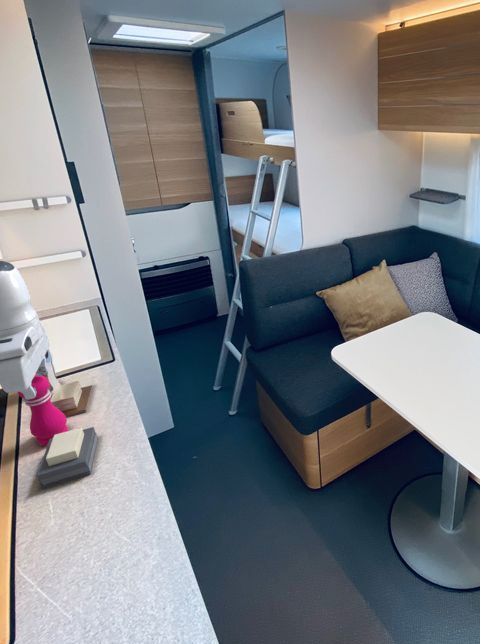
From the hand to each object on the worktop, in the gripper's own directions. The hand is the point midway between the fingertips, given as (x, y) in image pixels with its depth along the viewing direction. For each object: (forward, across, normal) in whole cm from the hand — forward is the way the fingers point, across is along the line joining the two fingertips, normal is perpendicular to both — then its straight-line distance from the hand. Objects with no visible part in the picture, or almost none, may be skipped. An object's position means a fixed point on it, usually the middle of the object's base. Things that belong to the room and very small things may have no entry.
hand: (37, 385), depth 94 cm
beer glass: (+19, -29, -9) cm, 36 cm away
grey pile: (+19, +7, +3) cm, 21 cm away
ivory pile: (+19, -18, -2) cm, 26 cm away
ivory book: (+14, +7, +3) cm, 16 cm away
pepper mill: (+19, -5, -3) cm, 20 cm away
